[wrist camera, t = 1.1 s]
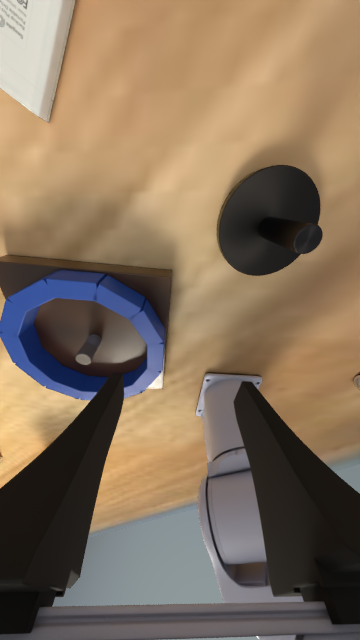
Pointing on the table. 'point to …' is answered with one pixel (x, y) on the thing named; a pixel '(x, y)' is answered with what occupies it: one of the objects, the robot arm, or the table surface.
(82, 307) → the platform
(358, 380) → the tablet stand
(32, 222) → the table surface
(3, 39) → the hard drive
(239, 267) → the post
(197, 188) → the table surface
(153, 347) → the ring
